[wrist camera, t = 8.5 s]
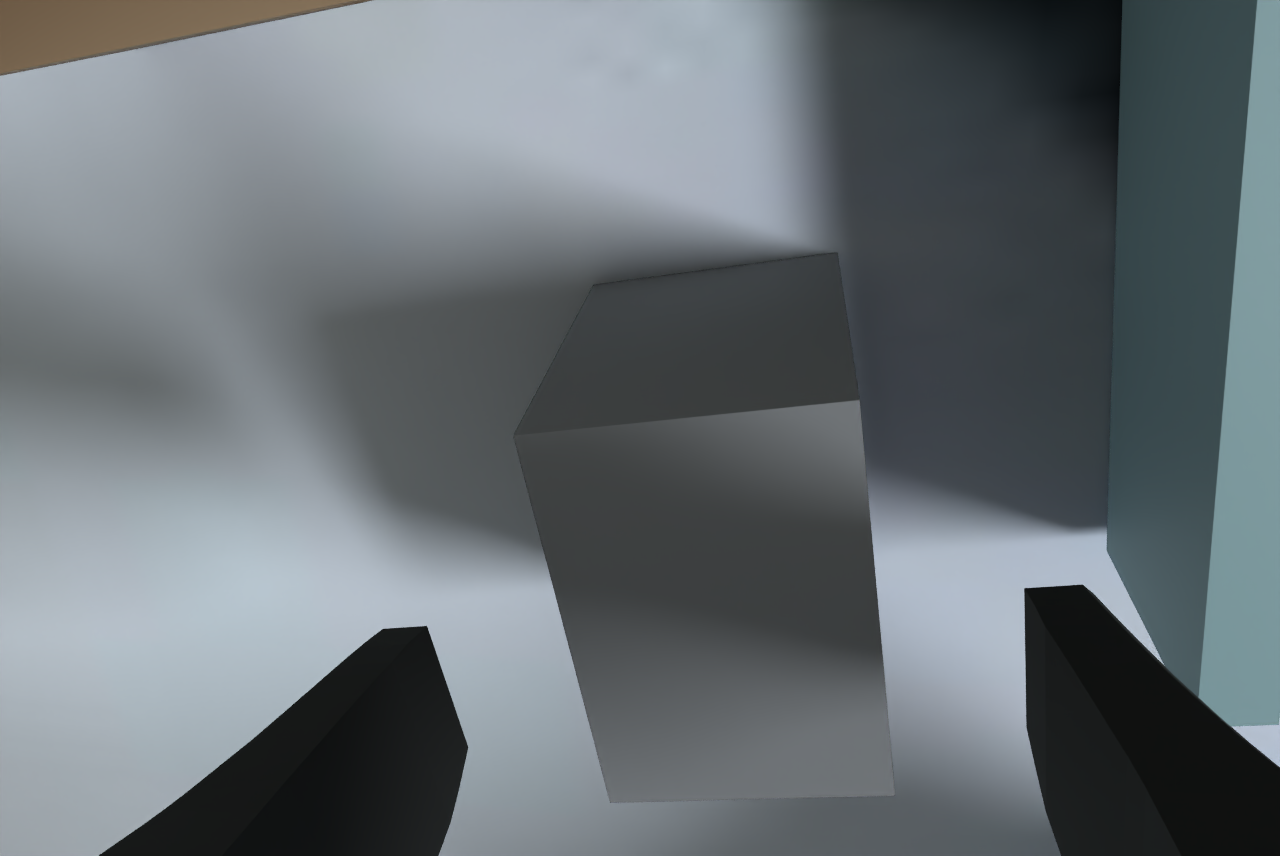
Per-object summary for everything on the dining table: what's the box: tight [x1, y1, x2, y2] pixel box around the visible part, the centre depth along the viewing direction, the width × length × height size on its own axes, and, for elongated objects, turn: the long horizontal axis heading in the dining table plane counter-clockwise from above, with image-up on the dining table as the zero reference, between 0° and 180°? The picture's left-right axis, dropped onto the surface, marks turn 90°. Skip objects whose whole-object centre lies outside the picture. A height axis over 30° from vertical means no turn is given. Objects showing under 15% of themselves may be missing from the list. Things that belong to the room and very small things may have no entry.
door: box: [1107, 0, 1280, 726], centre depth 13 cm, size 10×2×4 cm, turn 11°
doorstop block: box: [513, 253, 895, 803], centre depth 15 cm, size 6×4×6 cm, turn 10°
